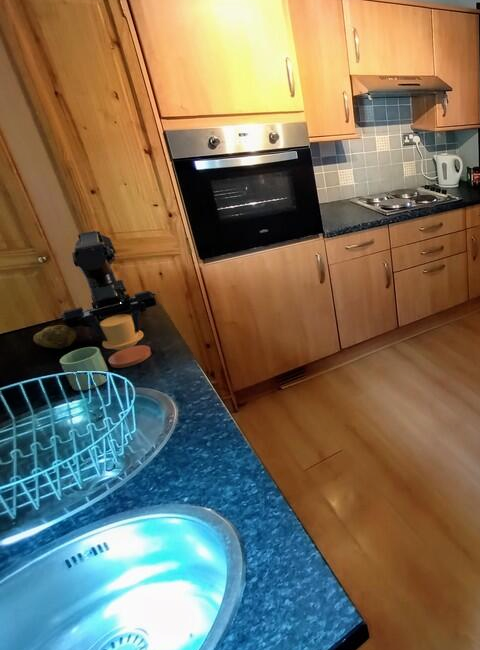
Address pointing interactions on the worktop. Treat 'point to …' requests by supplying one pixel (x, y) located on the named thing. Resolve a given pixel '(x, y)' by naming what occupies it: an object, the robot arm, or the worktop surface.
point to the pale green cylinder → (84, 366)
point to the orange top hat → (120, 332)
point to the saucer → (129, 356)
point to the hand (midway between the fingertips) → (121, 336)
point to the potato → (55, 337)
